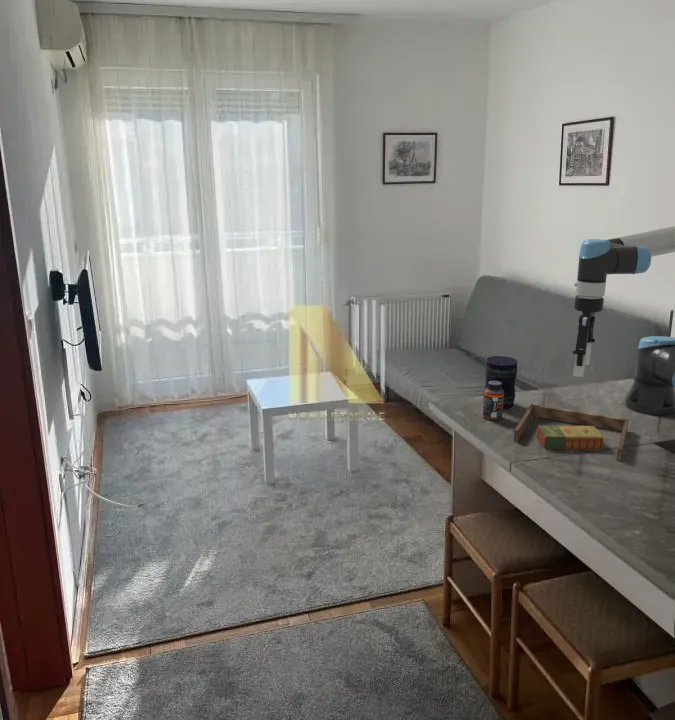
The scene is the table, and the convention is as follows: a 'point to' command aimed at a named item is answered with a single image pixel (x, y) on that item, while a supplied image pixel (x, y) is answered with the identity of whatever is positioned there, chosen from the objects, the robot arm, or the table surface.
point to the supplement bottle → (493, 401)
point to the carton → (569, 437)
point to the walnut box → (574, 421)
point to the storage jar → (503, 376)
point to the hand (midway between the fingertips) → (581, 370)
